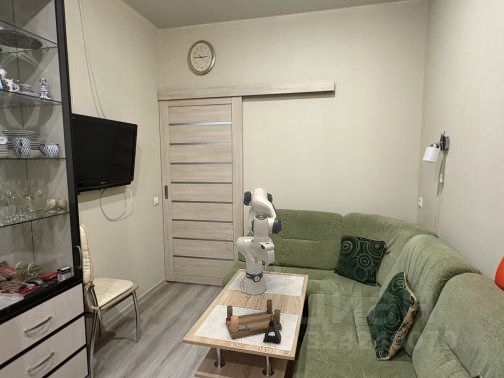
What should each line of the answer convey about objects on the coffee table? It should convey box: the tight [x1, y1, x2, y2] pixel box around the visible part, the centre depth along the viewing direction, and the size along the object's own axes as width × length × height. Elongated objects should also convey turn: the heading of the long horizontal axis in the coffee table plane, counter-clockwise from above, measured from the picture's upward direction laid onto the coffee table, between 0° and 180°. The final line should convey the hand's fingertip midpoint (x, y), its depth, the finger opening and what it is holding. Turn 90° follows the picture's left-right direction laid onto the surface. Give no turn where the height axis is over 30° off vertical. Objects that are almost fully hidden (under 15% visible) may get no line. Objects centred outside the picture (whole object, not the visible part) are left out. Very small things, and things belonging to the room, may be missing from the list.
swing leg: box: [231, 314, 250, 333], centre depth 162 cm, size 10×4×8 cm, turn 105°
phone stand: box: [262, 316, 282, 345], centre depth 158 cm, size 9×6×12 cm, turn 79°
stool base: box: [225, 299, 283, 340], centre depth 171 cm, size 16×28×10 cm, turn 107°
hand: (261, 265), depth 178 cm, fingers open, 8 cm apart
